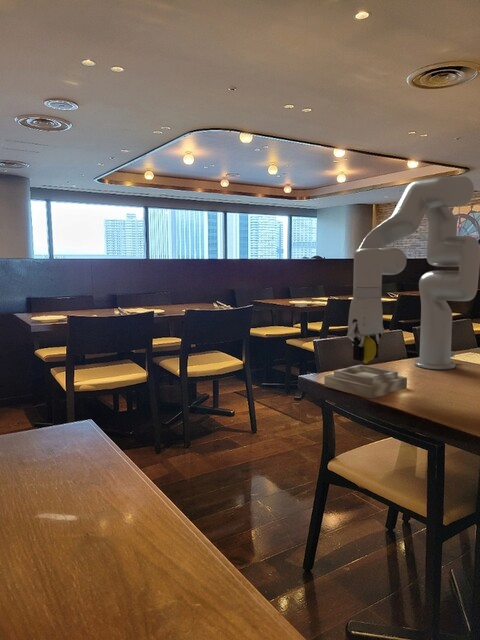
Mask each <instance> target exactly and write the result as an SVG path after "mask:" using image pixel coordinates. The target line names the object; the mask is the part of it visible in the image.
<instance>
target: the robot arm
mask: <svg viewBox="0 0 480 640" xmlns="http://www.w3.org/2000/svg"><path fill="white" fill-rule="evenodd" d="M474 193H475V185H474V183H473V181H472V180H471V179H470V178H469V177H467V176H463V175H462V176H460V175H459V176H438V177H431V178H426V179H419V180H415V181H412V182H411V183H409V184H408V185H407V186H406V187H405V189H404V190H403V192H402V194H401V196H400V198H399V199H398V202H397V203H396V206H395V207H394V208H393V211H392V213H391V215H390V216H389V217H388V218H387V219H385V220H383V221H382V222H380V224H379V225H377V226H376V227H375V228H374V229H372V230H371V231H370V232H368V234H367V235H366V236H365V237H364V239H362V242H361V244H360V245H359V248H357V249H356V250H355V251H354V252H353V280H352V281H353V283H352V284H353V286H352V287H353V289H352V299H351V302H350V305H349V309H348V310H349V311H348V322H347V334H346V336H347V337H348V339H349V340H350V342H351V345H352V346H353V347H352V348H353V349H352V353H353V355H352V359H353V360H354V361H360V362H363V361H364V347H363V342H364V338H365V336H368V337H371V338H372V339H373V340H374V341H375V344H376V355H375V357H374V358H373V359H377V358H378V357H379V344H380V342H381V341H380V339H381V338H382V335H383V333H384V331H385V328H384V324H383V323H384V321H383V320H384V317H383V314H384V313H383V301H382V295H383V294H382V292H383V291H382V288H383V287H382V285H383V275H384V276H385V275H386V276H394V275H398V274H400V273H401V272H402V271H404V270H405V268H406V266H407V263H408V262H407V256H406V253H405V252H404V251H403V250H402V249H400V248H397V247H386V246H387V245H389V244H392V243H394V242H396V241H399V240H402V239H405V238H407V237H408V236H411V235H413V234H414V233H415V232H416V231H418V229H419V227H420V224H421V222H422V221H423V218H424V217H426V219H427V230H428V232H427V239H426V240H427V242H426V261H427V263H428V264H429V265H431V266H434V267H458V270H431V271H427V272H425V273H424V274H422V275H421V276H420V278H419V281H418V290H419V295H420V296H419V297H420V307H421V309H420V334H419V335H420V337H419V358H418V359H415V360H414V365H415V366H416V367H419V368H423V369H428V370H452V369H454V368H456V363H455V362H454V361H451V358H454V357H455V355H456V353H455V352H454V351H452V331H453V330H452V329H453V312H452V308H451V307H450V305H449V304H448V302H447V301H449V302H450V301H451V302H470V301H472V300H474V298H475V297H476V295H477V292H478V288H479V287H478V286H479V276H480V243H479V241H478V239H477V238H476V237H474V236H472V235H457V232H458V231H457V230H458V229H457V227H458V221H457V218H456V216H455V214H454V213H453V212H452V210H451V209H450V207H460V206H461V207H462V206H466V205H467V204H469V203H470V202H471V201H472V199H473V197H474ZM359 339H360V340H359Z"/></svg>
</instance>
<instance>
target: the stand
mask: <svg viewBox="0 0 480 640" xmlns="http://www.w3.org/2000/svg"><path fill="white" fill-rule="evenodd" d="M323 378H324V380H323V382H324V387H326V388H330V389H334V390H336V391H341V392H344V393H348V394H352V395H355V396H359V397H364V398H367V399H370V400H371V399H372V400H373V399H375V398H379V397H382V396H386V395H388V394H392V393H394V392H395V393H396V392H398V391H402V390H404V389H407V388H408V376H404V375H399V372H398V371H395V370H391V369H386V368H381V367H377V366H376V367H375V366H371V365H365V364H357V365H353V366H348V367H345V368H339V369H336V370H333V373H331V374H328V375H324V377H323Z"/></svg>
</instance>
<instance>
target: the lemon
mask: <svg viewBox="0 0 480 640" xmlns="http://www.w3.org/2000/svg"><path fill="white" fill-rule="evenodd" d="M358 339H359V340H360V338H358ZM363 347H364V361H362V363H364V364H368V363H369V362H371V361H373V359H375V358H374V357H375V355H376V344H375V341H374V340H373V339H372V338H371V337H368V336H365V338H364V342H363Z"/></svg>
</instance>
